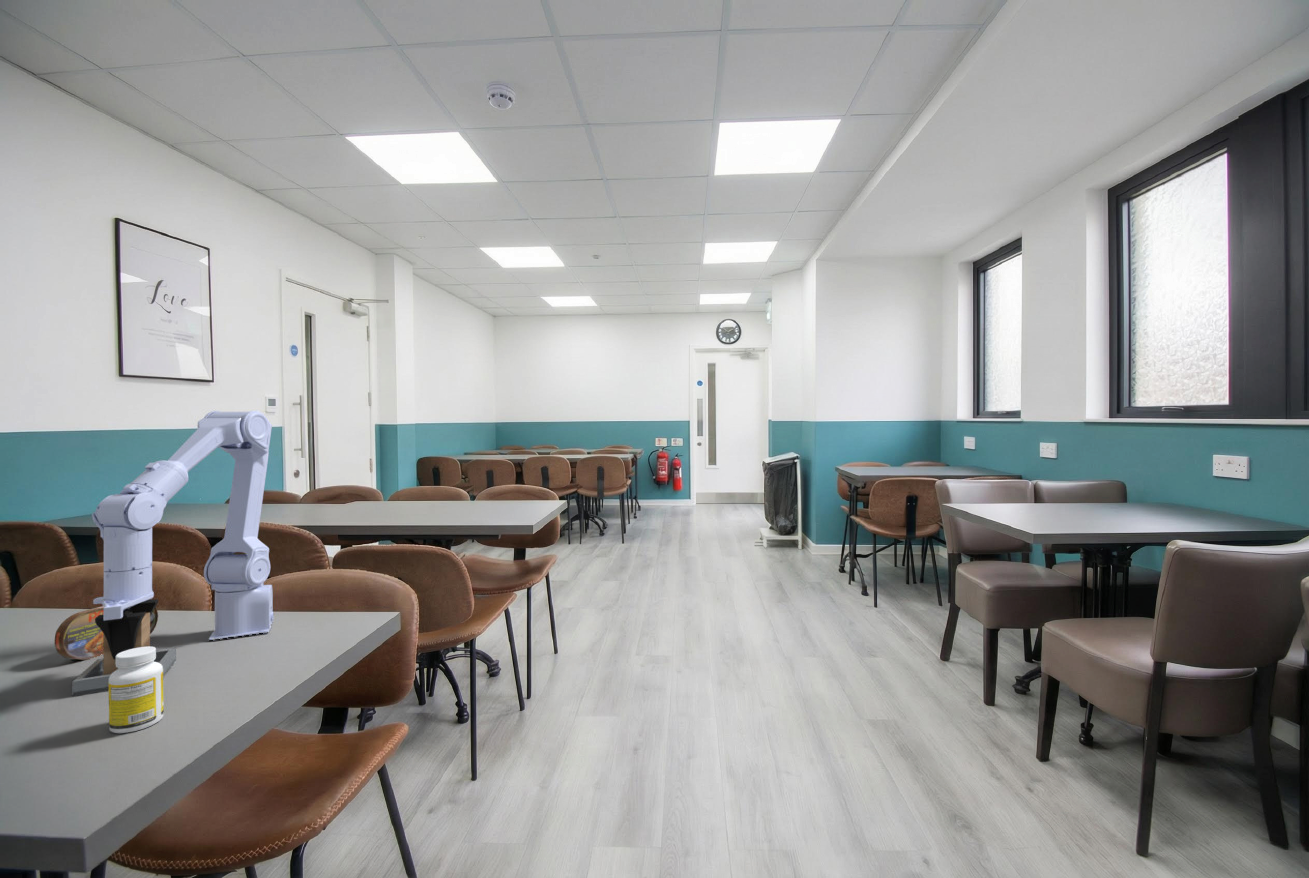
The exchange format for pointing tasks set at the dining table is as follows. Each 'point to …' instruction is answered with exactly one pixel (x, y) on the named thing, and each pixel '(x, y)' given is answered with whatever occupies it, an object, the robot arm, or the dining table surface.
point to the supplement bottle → (135, 691)
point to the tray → (98, 682)
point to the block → (141, 641)
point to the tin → (85, 634)
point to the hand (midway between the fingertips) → (128, 652)
